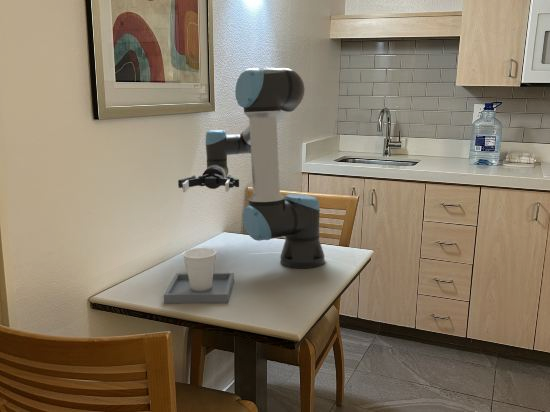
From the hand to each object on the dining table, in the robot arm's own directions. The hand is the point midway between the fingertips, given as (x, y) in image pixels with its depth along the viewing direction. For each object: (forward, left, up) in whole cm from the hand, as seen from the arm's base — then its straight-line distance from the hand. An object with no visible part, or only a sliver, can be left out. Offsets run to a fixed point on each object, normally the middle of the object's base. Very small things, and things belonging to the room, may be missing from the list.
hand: (205, 187), depth 174 cm
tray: (0, +18, -28) cm, 33 cm away
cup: (0, +17, -27) cm, 32 cm away
